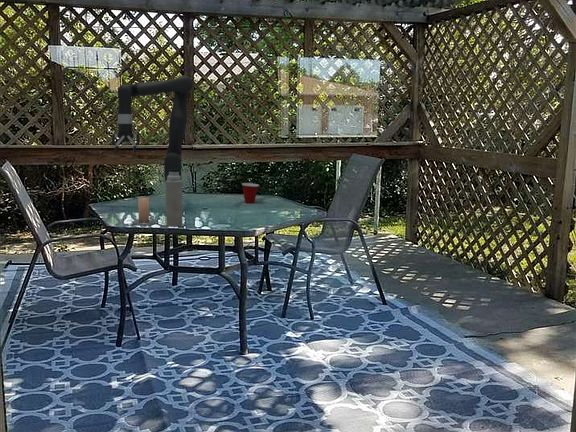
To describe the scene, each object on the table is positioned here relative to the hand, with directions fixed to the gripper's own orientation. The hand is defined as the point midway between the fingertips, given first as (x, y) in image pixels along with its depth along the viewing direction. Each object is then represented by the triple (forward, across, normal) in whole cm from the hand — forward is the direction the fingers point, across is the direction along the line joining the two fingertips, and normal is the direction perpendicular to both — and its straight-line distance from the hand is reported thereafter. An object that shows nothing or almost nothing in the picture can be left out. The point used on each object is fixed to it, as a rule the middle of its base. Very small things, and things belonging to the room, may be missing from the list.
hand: (126, 153), depth 332 cm
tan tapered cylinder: (+32, +6, -28) cm, 43 cm away
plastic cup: (+33, +76, +24) cm, 86 cm away
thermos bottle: (+33, +20, -37) cm, 54 cm away
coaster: (+33, +6, -28) cm, 44 cm away
